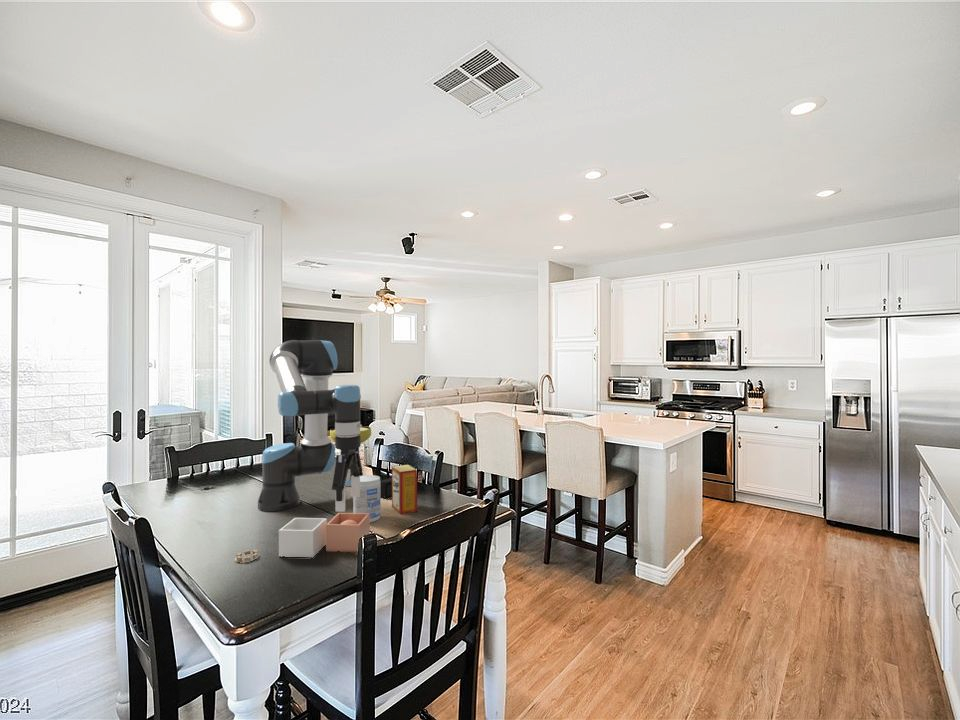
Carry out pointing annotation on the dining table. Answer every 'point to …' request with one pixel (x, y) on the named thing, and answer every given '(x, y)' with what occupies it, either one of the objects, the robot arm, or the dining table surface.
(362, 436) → the cocktail glass
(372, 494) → the supplement tub
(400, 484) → the baking soda box
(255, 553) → the ball stand
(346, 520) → the ball
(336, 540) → the terracotta open box
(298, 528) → the white open box
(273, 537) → the dining table surface
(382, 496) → the digital camera
